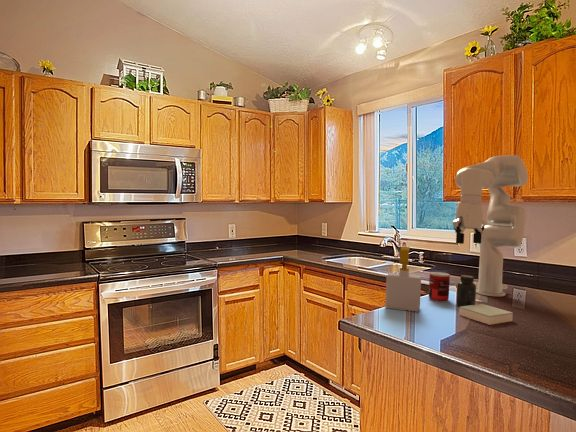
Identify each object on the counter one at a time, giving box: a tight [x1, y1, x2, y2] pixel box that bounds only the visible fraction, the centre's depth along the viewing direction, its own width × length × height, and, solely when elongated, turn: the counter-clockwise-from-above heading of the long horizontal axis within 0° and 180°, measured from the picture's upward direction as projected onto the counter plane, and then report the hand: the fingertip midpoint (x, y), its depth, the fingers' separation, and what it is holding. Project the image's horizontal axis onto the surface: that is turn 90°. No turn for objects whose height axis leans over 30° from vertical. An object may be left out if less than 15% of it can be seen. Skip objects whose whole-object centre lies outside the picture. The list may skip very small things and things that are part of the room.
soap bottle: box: [385, 246, 422, 313], centre depth 145 cm, size 12×7×23 cm, turn 68°
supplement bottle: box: [456, 274, 477, 308], centre depth 152 cm, size 7×7×12 cm
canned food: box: [428, 271, 451, 302], centre depth 162 cm, size 8×8×11 cm
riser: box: [458, 303, 514, 325], centre depth 136 cm, size 12×12×3 cm
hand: (468, 243), depth 151 cm, fingers open, 9 cm apart
